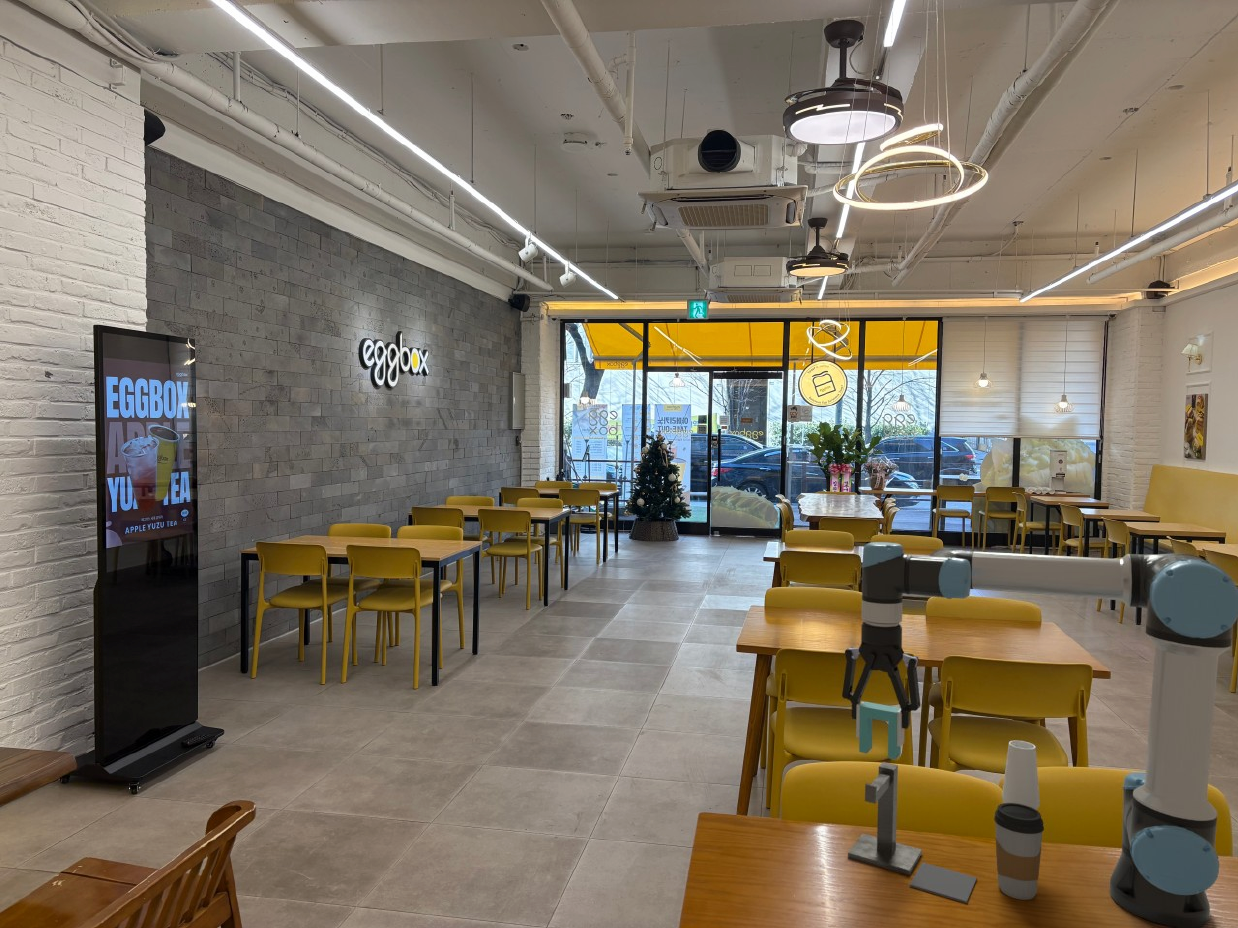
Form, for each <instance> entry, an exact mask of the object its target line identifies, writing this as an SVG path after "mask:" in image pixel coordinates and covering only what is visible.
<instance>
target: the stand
mask: <svg viewBox="0 0 1238 928" xmlns="http://www.w3.org/2000/svg"><path fill="white" fill-rule="evenodd" d="M898 772H899V765H898V764H895V763H889V762H885V761H882V762H881V763H880V764H879V766H878V775H877V776H875V777H876V778H875V779H873V780H872V782H871V783H869V782H866V783H865V786H864V788H865V789H864V801H865V802H867V803H871V804H875V805H876V804H877V822H876V823H877V826H876V827H877V831H876V832H877V833H876V835H877V837H876V836H874V835H871V834H866V833H862V834H861V835H860V836H859V838H857V840H856V842H855V843H854V844H853V845H852V847H851V848H850V849H849V851H847V859H852V860H855V861H859V862H861V863H864V864H865V863H866V864H868V865H872V866H875V867H879V868H882V869H886V870H889V871H892V872H896V873H899V874H902V875H905V876H911V873H912V872H913V870H914V869H915V867H916V865H917V863H918V862H919V860H920V858H921V857H922V854H923V849H920V848H917V847H914V846H910V845H906V844H903V843H899V842H897V824H898V823H897V817H898V816H897V813H898V781H899V780H898V777H899V776H898V774H899V773H898ZM920 856H921V857H920Z"/></svg>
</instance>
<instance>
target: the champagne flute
mask: <svg viewBox="0 0 1238 928" xmlns="http://www.w3.org/2000/svg"><path fill="white" fill-rule="evenodd" d="M1036 748H1037V747H1036V745H1035V744H1034V743H1031V742H1029V741H1028V742H1027V741H1025V740H1010V741H1009V742H1008V748H1007V755H1006V764H1005V772H1004V777H1003V778H1004V779H1003V784H1002V785H1003V786H1002V793H1001V797H1002V798H1001V799H1002V802H1003V803H1016V804H1022V805H1026V806H1029V807H1031V808H1033V809H1035V810H1037V811H1038V808H1039V807H1040V805H1041V799H1040V787H1039V776H1038V774H1039V773H1038V764H1037V763H1038V762H1037V761H1038V760H1037V750H1036Z"/></svg>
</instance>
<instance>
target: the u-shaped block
mask: <svg viewBox="0 0 1238 928" xmlns="http://www.w3.org/2000/svg"><path fill="white" fill-rule="evenodd" d="M863 702H864V703H863V704H862V705H861V706H860V729H859V738H858V739H859V740H858V741H859V742H858V746H859V749H858V752H859V753H861V754H862V753H863V754H868V753H870V751H871V750H872V749H873V720H878V721H883V722H887V725H888V727H887V729H888V730H887V731H888V732H887V736H888V737H887V759H890V760H897V759H898V758H899V757H900V755H901V753H902V751H901V748H902V746H901V747H900V746H897V711H898V710H899V709H900V707H898V706H894V705H893V706H892V705H885V704H881V703H875V702H869V701H863Z"/></svg>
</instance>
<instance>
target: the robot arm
mask: <svg viewBox="0 0 1238 928" xmlns="http://www.w3.org/2000/svg"><path fill="white" fill-rule="evenodd" d="M862 550H863V552H862V553H863V554H862V564H861V593H862V594H861V620H863V622H862V623H861V625H860V626H861V628H860V629H861V634H860V635H861V636H860V637H861V639H860V640H861V642H860V645H859V647H853V646H850V647H848V648H846V649H845V651H844V655H845V660H846V664H845V670H844V671H845V672H844V679H843V684H842V692H841V693H842V694H841V696H842V698H843V699H845V700H846V699H847V700H848V701H850V703H851V718H852V720H856V721H855V722H856V723H855V724H856V728H855V729H856V731H855V737H856V738H857V739H859V729H860V706H861V705H862V704H863V703H864V702H865V701H861V700H862V697H863V694H864V693H865V689H866V687H867V685H868V683H869V680H870V677H871V675H872V672H873V671H881V672H883V673H887V676H888V678H889V680H890V682H891V684H892V687H893V690H894V694H895V695H896V700H897V702H898V704H899V708H900V709H899V710H898V711H897V746H900V747H901V748H902V745H904V743H905V730H907V729H909V727H910V726H911V725H910V724H911V712H915V711H918V709H919V708H920V707H921V697H920V696H921V695H920V688H919V679H918V678H919V677H918V670H917V668H918V665H919V661H920V660H919V656H917V655H913V656H911V655H909V654H906V653H905V651H904V650H903V646H902V645H903V626H902V625H901V623H902V622H903V595H912V596H914V595H915V596H924V597H925V596H926V597H935V598H944V599H945V598H946V599H947V600H951V599H963V600H964V599H967V598H968V597H969V596H970V594H971V590H981V591H982V590H983V591H993V592H994V591H995V592H1008V593H1020V594H1031V595H1032V594H1033V595H1047V596H1059V597H1060V596H1061V597H1072V598H1073V597H1074V598H1084V599H1085V598H1087V599H1100V600H1109V601H1110V600H1114V601H1119V602H1122V603H1124V604H1125V606H1126V607H1132V608H1143V609H1146V610H1147V611H1146V622H1145V636H1146V637H1147V638H1148V639H1149V640H1150V641H1151V643H1153V645H1154V659H1153V668H1152V669H1153V671H1152V672H1153V673H1152V683H1151V694H1150V695H1151V698H1150V707H1149V708H1150V709H1149V720H1148V721H1149V723H1148V724H1149V725H1148V736H1147V750H1146V760H1145V772H1138V771H1137V772H1130V773H1128V774H1126V775H1125V777H1124V779H1123V780H1124V781H1123V786H1121V787H1122V790H1123V801H1122V802H1123V804H1122V805H1123V806H1122V835H1121V837H1122V838H1121V839H1122V840H1121V844H1122V845H1121V854H1120V856H1119V858H1118V861H1117V863H1116V865H1115V867H1114V869H1113V872H1112V874H1111V876H1110V880H1109V894H1110V897H1111V898H1112V899H1113V901H1114V902H1116V904H1118V905H1119V906H1120V907H1121V908H1123V909H1125V910H1127V912H1130V913H1132V914H1134V915H1136V916H1138V917H1140V918H1143V919H1144V920H1147V921H1150V922H1153V923H1157V924H1160V925H1162V926H1163V925H1165V926H1169V927H1176V928H1201V927H1204V926H1206V925H1208V923H1209V921H1210V918H1211V915H1210V914H1211V906H1210V902H1209V898H1208V896H1207V892H1206V891H1207V890H1209V889H1211V887H1213V885H1214V884H1215V883H1216V881H1217V879H1218V877H1219V872H1220V861H1219V855H1218V853H1217V851H1216V835H1217V824H1218V823H1217V822H1218V811H1217V810H1216V808H1215V807H1214V806H1213V805H1212V803H1210V802H1209V801H1208V789H1209V788H1208V787H1209V779H1210V764H1211V751H1212V739H1213V728H1214V714H1215V713H1214V712H1215V705H1216V704H1215V701H1216V689H1217V680H1218V679H1217V677H1218V665H1219V657H1220V655H1222V654H1223V653H1225V652H1226V651H1228V650H1230V649H1232V639H1233V628H1234V627H1233V626H1234V624H1235V623H1236V621H1237V620H1238V588H1237V585H1236V583H1235V581H1234V580H1233V579H1232V577H1231V576H1230V575H1229V574H1228V573H1227V572H1225V571H1224V569H1222V568H1220V567H1219V566H1217V565H1215V564H1214V563H1211V562H1209V561H1208V560H1207V559H1205V558H1203V557H1200V556H1198V555H1194V554H1189V553H1185V552H1183V553H1177V552H1176V553H1175V552H1173V553H1161V554H1160V553H1159V554H1157V553H1156V554H1155V553H1153V554H1138V553H1137V554H1136V553H1133V554H1132V553H1127V554H1125V555H1124V556H1123V557H1121V558H1106V557H1104V558H1103V557H1090V556H1089V557H1087V556H1086V557H1085V556H1083V557H1082V556H1071V555H1069V556H1067V555H1049V554H1046V555H1045V554H1030V553H1029V554H1027V553H1008V552H1007V553H1006V552H991V551H987V552H986V551H967V550H957V549H954V548H947V547H946V548H945V547H944V548H939V549H936V550H934V551H933V552H932V553H930V555H927V556H926V555H912V554H906V553H905V552H904V547H903V545H902V544H900V543H897V542H887V541H885V542H883V541H882V542H881V541H879V542H878V541H876V542H873V541H872V542H868V543H866V544H865V545H864V546H863V549H862ZM859 655H860V656H861V658H862V659H863V661H864V663H865V664H864V666H863V669H862V671H861V675H860V678H859V680H858V683H857V685H856V687H855V688H854V681H855V672H856V667H857V659H858V658H859ZM901 661H903V662H904V666H905V667H906V675H907V684H908V693H909V694H908V695H909V697H908V695H907V692H906V689H905V686H904V683H903V680H902V677H901V675H900V669H899V667H898V665H899V664H900V663H901ZM853 688H854V691H853Z"/></svg>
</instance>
